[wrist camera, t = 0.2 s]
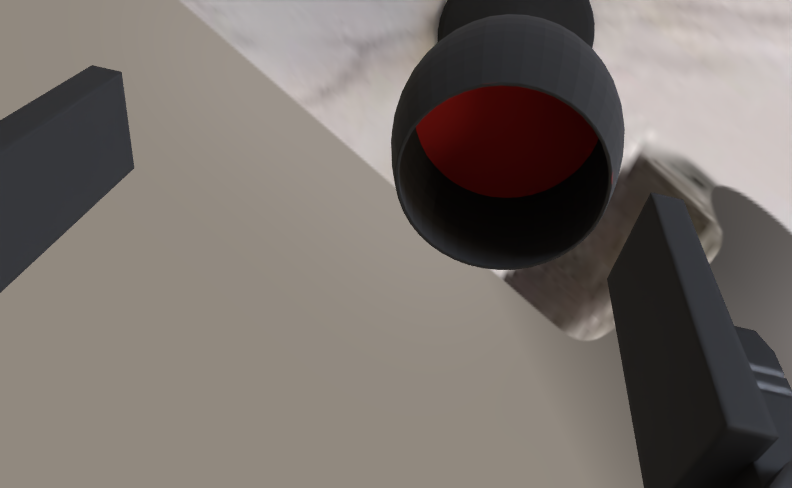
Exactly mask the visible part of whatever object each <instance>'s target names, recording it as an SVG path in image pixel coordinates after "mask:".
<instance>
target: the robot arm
mask: <svg viewBox="0 0 792 488" xmlns="http://www.w3.org/2000/svg"><path fill="white" fill-rule="evenodd" d="M133 169H134V163H133V155H132V148H131V140H130V132H129V125H128V117H127V110H126V102H125V95H124V87H123V79H122V72H119V71H115V70H110V69H106V68H102V67H97V66H93V65H92V66H90V67H88V68H87V69H85V70H83V71H82V72H80V73H78V74H77V75H75V76H73V77H72V78H70V79H68V80H67V81H65V82H63V83H62V84H60V85H58V86H57V87H55V88H53V89H52V90H50V91H48V92H47V93H45V94H43V95H42V96H40V97H39V98H37V99H35V100H33V101H32V102H30V103H28V104H27V105H25V106H23V107H22V108H20V109H18V110H17V111H15V112H13V113H12V114H10V115H8V116H7V117H5V118H3V119H2V120H0V293H1V292H2V291H3V290H4V289H5V288H6V287H7V286H8V285H9V284H10V283H11V282H12V281H13V280H15V279H16V278H17V277H18V276H19V275H20V274H21V273H22V272H23V271H24V270H25V269H26V268H27V267H28V266H29V265H31V264H32V262H34V261H35V260H36V259H37V258H38V257H39V256H40V255H41V254H42V253H44V252H45V251H46V250H47V249H48V248H49V247H50V246H51V245H52V244H53V243H54V242H55V241H56V240H57V239H59V238H60V237H61V236H62V235H63V234H64V233H65V232H66V231H67V230H68V229H69V228H70V227H71V226H72V225H73V224H75V223H76V222H77V221H78V220H79V219H80V218H81V217H82V216H83V215H84V214H85V213H87V212H88V211H89V210H90V209H91V208H92V207H93V206H94V205H95V204H96V203H97V202H98V201H99V200H100V199H101V198H102V197H104V196H105V195H106V194H107V193H108V192H109V191H110V190H111V189H112V188H113V187H114V186H115V185H117V184H118V183H119V182H120V181H121V180H122V179H123V178H124V177H125V176H126V175H127V174H128V173H129V172H130V171H132V170H133ZM607 280H608V286H609V292H610V297H611V303H612V309H613V314H614V320H615V326H616V331H617V337H618V343H619V348H620V354H621V360H622V365H623V371H624V377H625V382H626V388H627V394H628V399H629V405H630V411H631V416H632V422H633V428H634V433H635V439H636V445H637V450H638V456H639V462H640V467H641V473H642V478H643V484H644V488H792V390H791V388H790V385H789V383H788V381H787V379H786V378H784V372H783V370H782V368H781V366H780V364H779V361H778V359H777V357H776V355H775V353H774V351H773V350H772V349H771V348H770V347H769V346H768V345H767V344H766V343H765V341H764V340H763V339H762V338H761V337H760V336H759V335H758V333H757V332H756V331H754V330H749V329H745V328H741V327H737V326H734V325H733V322H732V320H731V317H730V315H729V312H728V310H727V307H726V305H725V302H724V300H723V298H722V295H721V293H720V290H719V287H718V285H717V283H716V280H715V278H714V275H713V273H712V270H711V268H710V265H709V263H708V260H707V258H706V255H705V253H704V250H703V248H702V245H701V243H700V240H699V238H698V235H697V233H696V231H695V228H694V226H693V223H692V221H691V218H690V216H689V213H688V211H687V208H686V206H685V203H684V201H683V200H682V199H677V198H673V197H669V196H664V195H660V194H655V193H650V195H649V197H648V199H647V201H646V203H645V205H644V207H643V209H642V211H641V213H640V215H639V217H638V219H637V221H636V223H635V225H634V227H633V229H632V231H631V233H630V235H629V237H628V239H627V241H626V243H625V245H624V247H623V249H622V251H621V253H620V255H619V257H618V259H617V260H616V262H615V264H614V266H613V268H612V270H611V272H610V274H609V276H608V278H607Z"/></svg>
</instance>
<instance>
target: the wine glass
mask: <svg viewBox="0 0 792 488" xmlns="http://www.w3.org/2000/svg"><path fill="white" fill-rule="evenodd" d="M593 41H594V17H593V11H592V8H591V5H590V2H589V0H448V1H447V2H446V4H445V6H444V9H443V12H442V15H441V18H440V23H439V28H438V43H437V44H436V45H435V46H434V47H433V48H432V49H431V50H430V51H429V52H427V54H426V55H425V56H424V57H423V58H422V60H421V61H420V62H419V64H418V65H417V66H416V67H415V69H414V70H413V72H412V74H411V76H410V78H409V79H408V81H407V83H406V85H405V87H404V89H403V91H402V93H401V96H400V99H399V102H398V105H397V109H396V112H395V116H394V123H393V129H392V138H391V148H392V169H393V176H394V181H395V186H396V191H397V195H398V199H399V201H400V204H401V207H402V209H403V211H404V214H405V215H406V217H407V219H408V220H409V222H410V224H411V225H412V226H413V228H414V229H415V230H416V231H417V232H418V234H419V235H420V236H421V237H422V238H423V239H424V240H425V241H426V242H428V243H429V244H430V245H431V246H433V247H434V248H435V249H437V250H438V251H440V252H441V253H443V254H445V255H447V256H449V257H451V258H452V259H454V260H457V261H460V262H462V263H465V264H468V265H472V266H476V267H481V268H486V269H496V270H516V269H522V268H529V267H533V266H537V265H540V264H544V263H547V262H549V261H551V260H554V259H556V258H558V257H560V256H562V255H564V254H565V253H567V252H569V251H570V250H572V249H573V248H575V247H576V246H577V245H578V244H580V243H581V242H582V241H583V240H584V239H585V238H586V237H587V236H588V235H589V234H590V233H591V232H592V231H593V230H594V229H595V227H596V226H597V224H598V222H599V221H600V219H601V218H602V216H603V214H604V212H605V210H606V208H607V206H608V203H609V201H610V199H611V196H612V194H613V191H614V189H615V186H616V183H617V179H618V175H619V171H620V166H621V162H622V157H623V148H624V121H623V114H622V106H621V102H620V99H619V96H618V93H617V90H616V87H615V84H614V81H613V79H612V77H611V75H610V73H609V72H608V70H607V68H606V66H605V65H604V63H603V62H602V60H601V59H600V58H599V56H598V55H597V54H596V53H595V51H594V50H593V49H592V46H593Z"/></svg>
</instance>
